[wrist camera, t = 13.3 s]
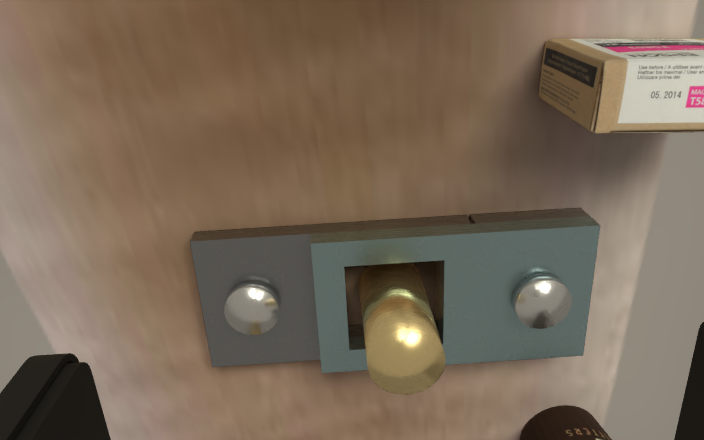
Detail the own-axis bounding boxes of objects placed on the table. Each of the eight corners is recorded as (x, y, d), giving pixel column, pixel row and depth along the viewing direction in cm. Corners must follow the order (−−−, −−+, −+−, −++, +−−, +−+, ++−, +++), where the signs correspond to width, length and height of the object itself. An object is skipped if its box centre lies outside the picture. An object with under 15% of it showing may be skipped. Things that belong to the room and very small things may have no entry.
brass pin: (357, 258, 40) (365, 332, 31) (420, 254, 40) (446, 327, 31) (360, 312, 41) (369, 397, 33) (421, 308, 41) (445, 391, 33)
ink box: (708, 36, 35) (818, 54, 27) (693, 100, 36) (793, 133, 29) (542, 36, 34) (605, 54, 27) (534, 101, 36) (591, 135, 28)
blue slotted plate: (311, 224, 38) (310, 250, 35) (580, 207, 39) (607, 232, 35) (322, 347, 42) (321, 382, 39) (566, 330, 43) (589, 364, 39)
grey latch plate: (194, 231, 38) (186, 248, 36) (466, 214, 39) (474, 230, 36) (216, 354, 42) (209, 376, 40) (462, 337, 43) (470, 358, 40)
